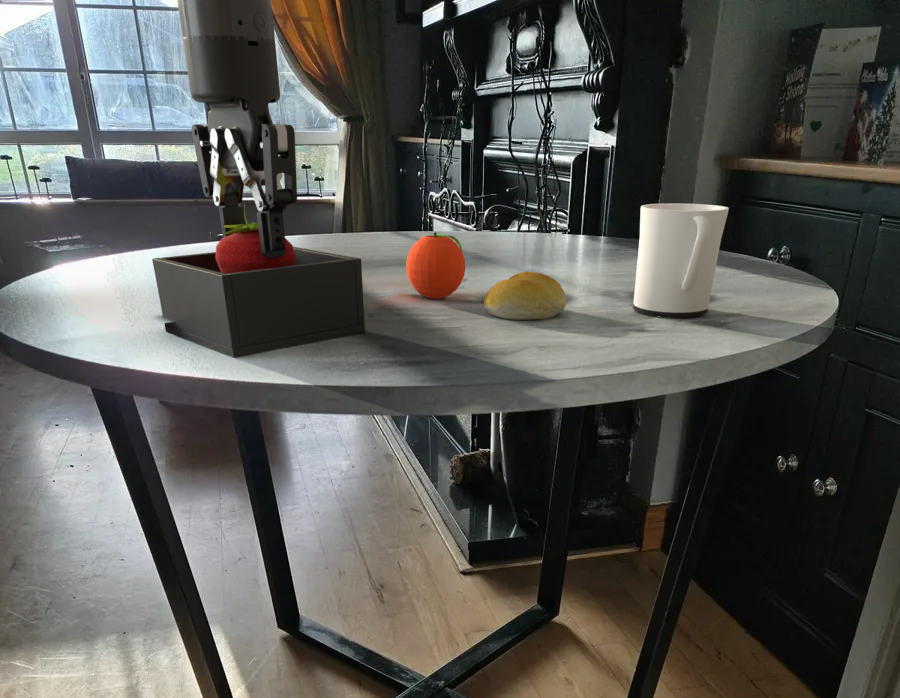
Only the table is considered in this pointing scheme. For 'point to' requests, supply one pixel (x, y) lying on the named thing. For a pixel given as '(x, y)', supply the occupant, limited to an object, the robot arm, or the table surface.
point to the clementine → (436, 265)
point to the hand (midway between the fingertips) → (255, 252)
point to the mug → (677, 258)
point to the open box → (261, 301)
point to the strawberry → (247, 251)
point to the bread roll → (526, 297)
